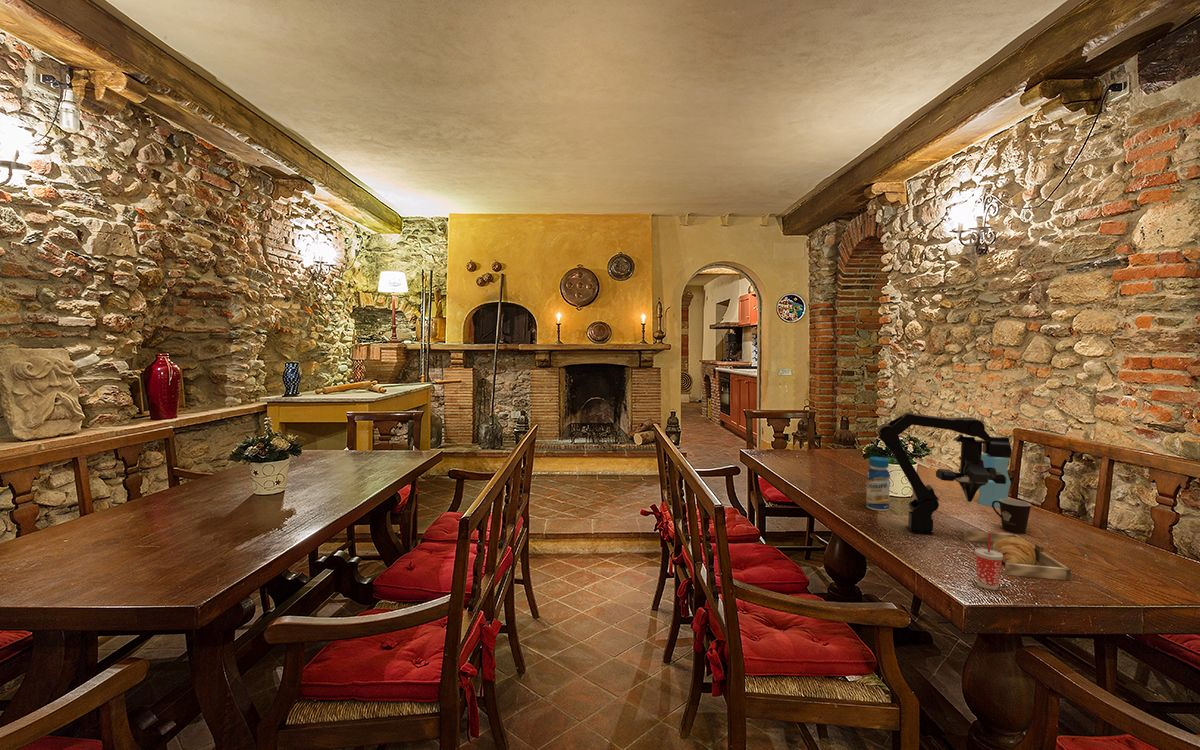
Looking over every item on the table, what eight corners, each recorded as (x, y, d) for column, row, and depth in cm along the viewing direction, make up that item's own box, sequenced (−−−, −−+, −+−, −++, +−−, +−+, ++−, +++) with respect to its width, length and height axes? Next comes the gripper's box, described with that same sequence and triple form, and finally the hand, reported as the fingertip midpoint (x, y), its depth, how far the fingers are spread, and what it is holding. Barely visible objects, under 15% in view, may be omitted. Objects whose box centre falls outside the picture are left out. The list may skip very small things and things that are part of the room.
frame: (1006, 574, 146) (1007, 559, 146) (963, 539, 174) (963, 526, 173) (1070, 580, 143) (1071, 564, 143) (1015, 543, 170) (1016, 530, 170)
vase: (975, 502, 215) (977, 454, 214) (990, 500, 217) (992, 453, 216) (994, 507, 208) (996, 458, 206) (1009, 506, 209) (1011, 457, 208)
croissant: (1024, 585, 147) (1042, 565, 144) (985, 561, 153) (1003, 540, 150) (1026, 560, 163) (1042, 541, 161) (991, 539, 169) (1006, 520, 166)
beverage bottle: (891, 507, 207) (893, 458, 206) (886, 512, 201) (888, 461, 200) (868, 503, 213) (870, 455, 212) (862, 508, 207) (864, 458, 206)
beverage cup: (984, 590, 137) (986, 538, 136) (967, 580, 143) (969, 530, 142) (1007, 590, 137) (1010, 538, 136) (990, 580, 143) (992, 530, 142)
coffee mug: (1035, 536, 177) (1036, 506, 176) (1006, 534, 178) (1007, 505, 178) (1015, 524, 188) (1016, 497, 187) (988, 522, 190) (989, 495, 189)
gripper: (949, 459, 169) (947, 506, 170) (1016, 462, 164) (1014, 511, 165) (936, 452, 180) (934, 497, 180) (998, 455, 175) (996, 501, 176)
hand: (969, 501), depth 175 cm, fingers closed
